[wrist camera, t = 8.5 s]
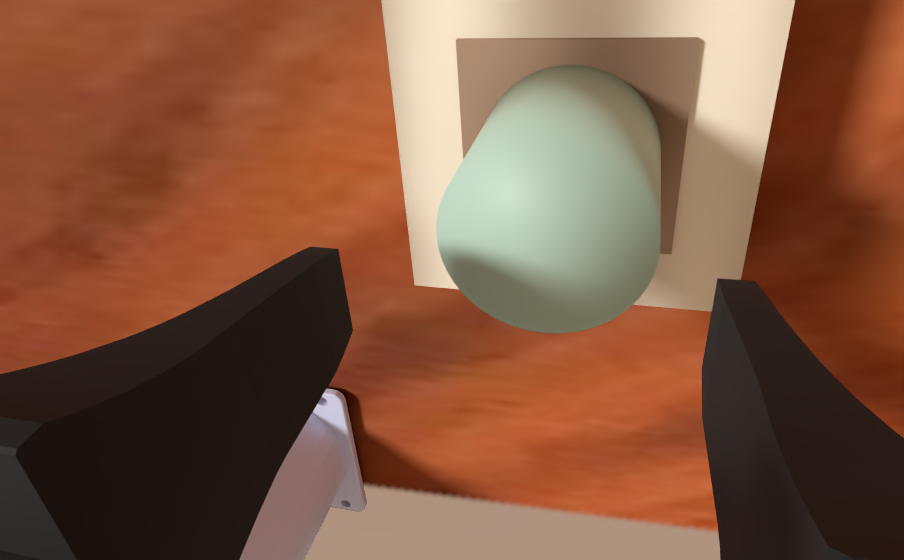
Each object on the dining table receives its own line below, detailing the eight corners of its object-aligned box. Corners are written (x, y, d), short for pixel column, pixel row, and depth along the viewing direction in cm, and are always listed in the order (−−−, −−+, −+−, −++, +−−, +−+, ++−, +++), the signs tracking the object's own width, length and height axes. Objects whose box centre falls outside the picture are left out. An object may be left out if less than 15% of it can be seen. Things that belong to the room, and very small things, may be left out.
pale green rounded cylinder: (486, 224, 21) (443, 322, 17) (480, 63, 18) (427, 134, 14) (652, 235, 19) (649, 343, 15) (670, 65, 17) (673, 141, 13)
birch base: (438, 240, 25) (413, 288, 23) (411, -59, 20) (373, -41, 17) (727, 261, 23) (734, 317, 20) (786, -75, 17) (807, -57, 15)
